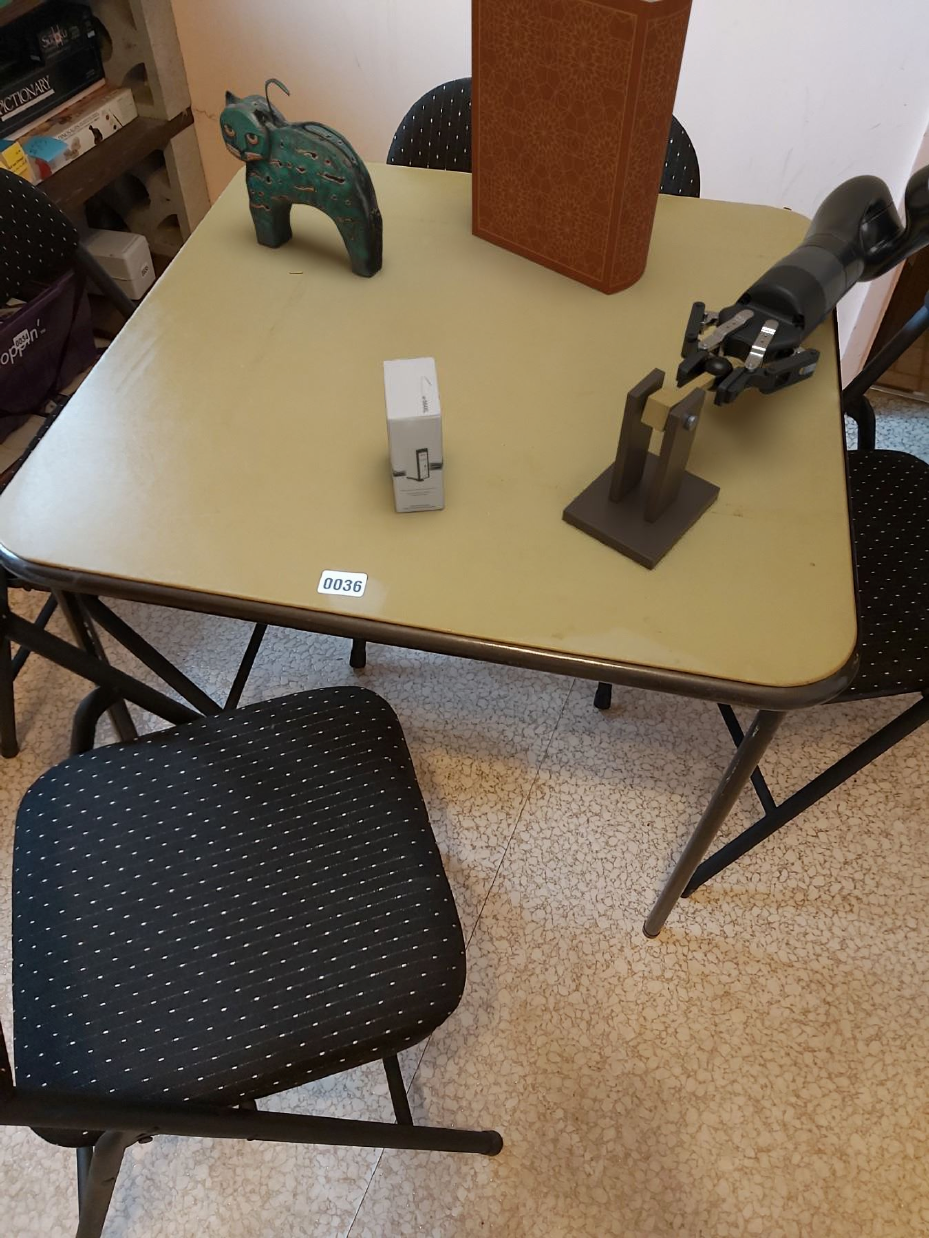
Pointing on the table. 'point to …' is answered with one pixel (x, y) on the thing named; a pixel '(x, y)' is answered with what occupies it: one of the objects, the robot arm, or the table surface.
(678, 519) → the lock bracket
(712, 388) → the lever
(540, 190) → the book
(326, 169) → the ceramic cat
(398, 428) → the ink box
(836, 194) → the robot arm
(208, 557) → the table surface
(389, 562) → the table surface
